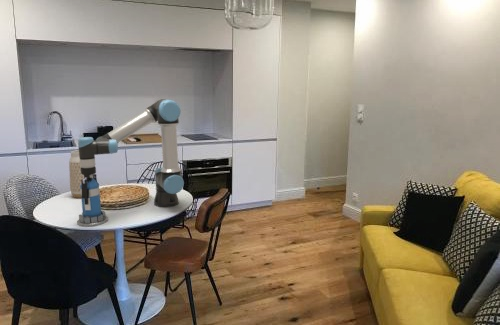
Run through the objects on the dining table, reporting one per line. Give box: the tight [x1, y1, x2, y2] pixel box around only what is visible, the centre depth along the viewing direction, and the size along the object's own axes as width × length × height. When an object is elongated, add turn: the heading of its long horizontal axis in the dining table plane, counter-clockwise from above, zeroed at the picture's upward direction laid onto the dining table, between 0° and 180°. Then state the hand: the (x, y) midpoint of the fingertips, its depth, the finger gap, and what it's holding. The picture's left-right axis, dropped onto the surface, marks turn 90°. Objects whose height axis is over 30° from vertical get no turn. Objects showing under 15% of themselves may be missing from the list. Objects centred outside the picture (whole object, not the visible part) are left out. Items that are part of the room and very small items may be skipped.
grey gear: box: [76, 209, 109, 228], centre depth 217 cm, size 16×16×5 cm
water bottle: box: [80, 174, 102, 217], centre depth 215 cm, size 9×9×25 cm
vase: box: [68, 149, 84, 199], centre depth 265 cm, size 14×14×31 cm
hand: (91, 207), depth 216 cm, fingers closed on water bottle, 9 cm apart
